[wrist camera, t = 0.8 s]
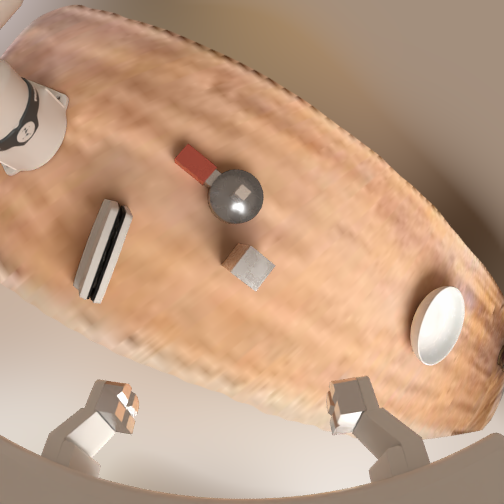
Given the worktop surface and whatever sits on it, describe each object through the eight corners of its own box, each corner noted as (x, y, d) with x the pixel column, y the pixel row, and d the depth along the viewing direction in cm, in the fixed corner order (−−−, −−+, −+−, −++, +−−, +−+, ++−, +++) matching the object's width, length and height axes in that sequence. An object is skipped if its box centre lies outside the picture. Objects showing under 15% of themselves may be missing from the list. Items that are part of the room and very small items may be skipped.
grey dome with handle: (164, 174, 46) (161, 164, 39) (198, 136, 47) (201, 121, 40) (237, 234, 50) (247, 234, 43) (268, 195, 51) (283, 189, 44)
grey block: (221, 265, 50) (230, 272, 41) (238, 243, 50) (250, 245, 42) (242, 281, 51) (255, 291, 42) (258, 260, 51) (275, 265, 43)
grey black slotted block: (105, 196, 44) (109, 197, 36) (128, 207, 47) (137, 210, 38) (72, 284, 43) (70, 305, 35) (96, 293, 46) (99, 315, 38)
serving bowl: (398, 368, 63) (414, 378, 56) (399, 294, 61) (419, 299, 54) (445, 341, 68) (461, 347, 61) (448, 274, 66) (466, 277, 59)
